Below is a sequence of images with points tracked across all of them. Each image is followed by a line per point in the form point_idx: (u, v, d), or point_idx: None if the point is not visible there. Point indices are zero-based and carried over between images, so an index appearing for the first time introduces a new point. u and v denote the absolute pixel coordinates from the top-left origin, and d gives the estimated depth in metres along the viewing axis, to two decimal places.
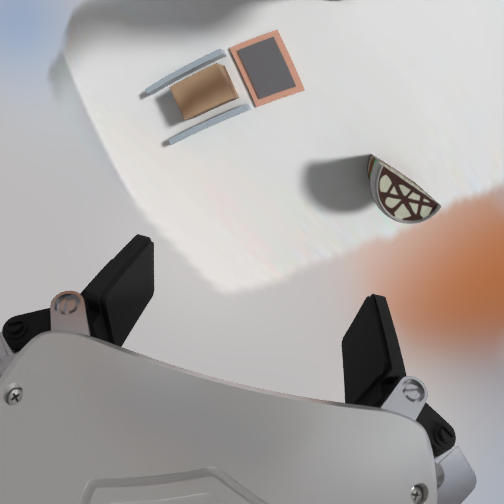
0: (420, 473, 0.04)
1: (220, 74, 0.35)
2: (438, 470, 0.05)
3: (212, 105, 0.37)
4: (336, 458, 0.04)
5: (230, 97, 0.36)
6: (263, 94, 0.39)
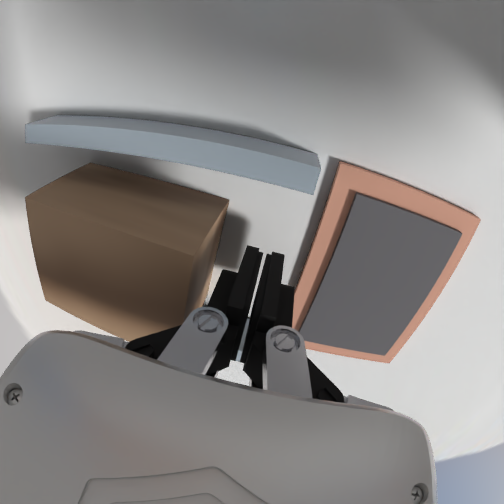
0: (420, 473, 0.04)
1: (182, 297, 0.10)
2: None
3: (117, 334, 0.12)
4: (336, 458, 0.04)
5: None
6: (313, 336, 0.16)
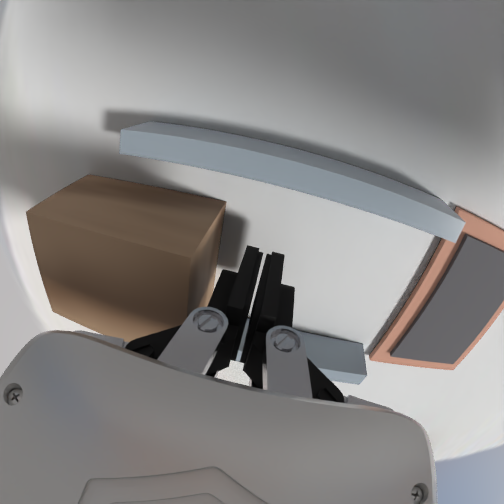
0: (420, 473, 0.04)
1: (184, 299, 0.10)
2: None
3: (124, 340, 0.12)
4: (336, 458, 0.04)
5: None
6: (405, 352, 0.15)
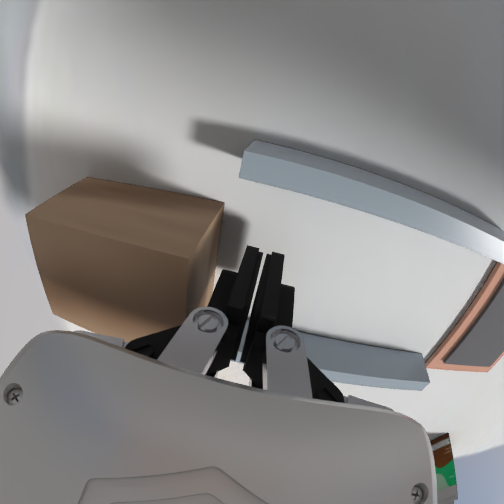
0: (420, 473, 0.04)
1: (182, 300, 0.10)
2: None
3: None
4: (336, 458, 0.04)
5: None
6: (455, 359, 0.15)
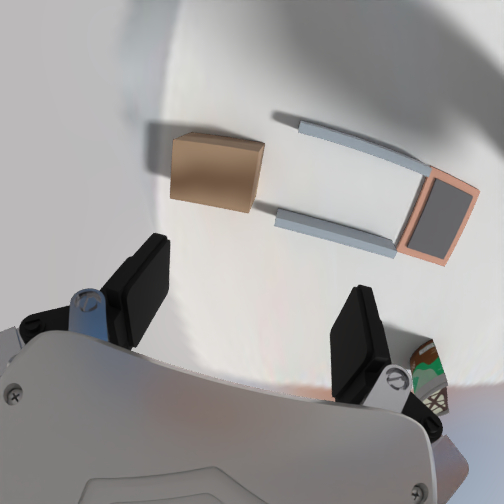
0: (420, 473, 0.04)
1: (253, 171, 0.25)
2: None
3: (216, 205, 0.27)
4: (336, 458, 0.04)
5: (246, 210, 0.27)
6: (414, 245, 0.30)
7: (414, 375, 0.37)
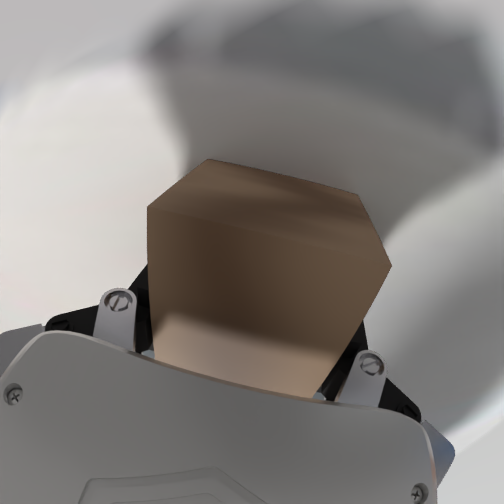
0: (420, 473, 0.04)
1: None
2: None
3: (158, 340, 0.09)
4: (336, 458, 0.04)
5: None
6: None
7: None
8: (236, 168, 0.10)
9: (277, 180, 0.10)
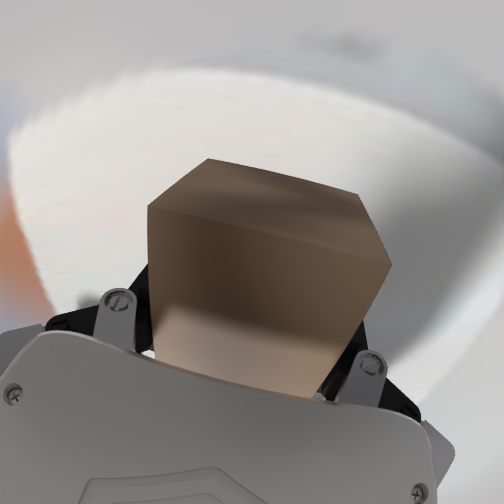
0: (420, 473, 0.04)
1: None
2: None
3: (158, 339, 0.09)
4: (336, 458, 0.04)
5: None
6: None
7: None
8: (236, 168, 0.10)
9: (278, 179, 0.10)
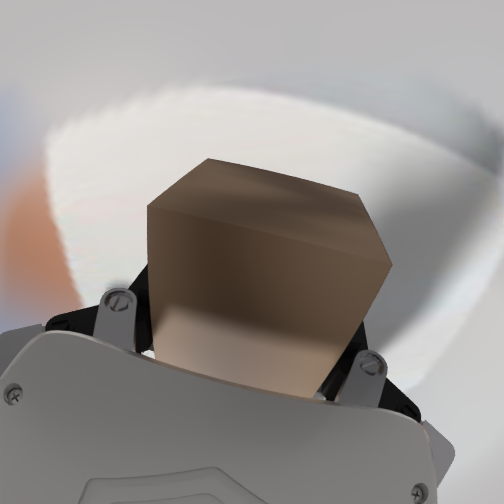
0: (420, 473, 0.04)
1: None
2: None
3: (158, 339, 0.09)
4: (336, 458, 0.04)
5: None
6: None
7: None
8: (236, 168, 0.10)
9: (278, 179, 0.10)
